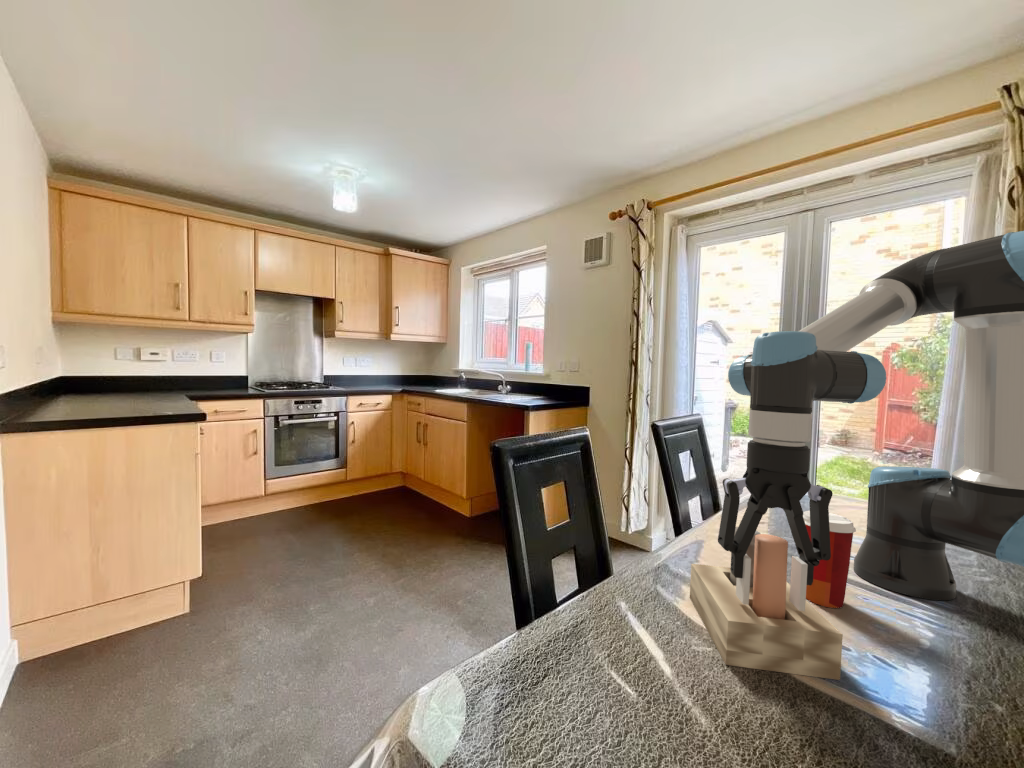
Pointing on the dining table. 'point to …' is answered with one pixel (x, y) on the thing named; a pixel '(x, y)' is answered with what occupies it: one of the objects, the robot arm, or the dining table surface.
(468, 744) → the dining table surface
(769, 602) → the dowel
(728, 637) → the bore block
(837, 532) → the coffee cup
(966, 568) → the dining table surface
